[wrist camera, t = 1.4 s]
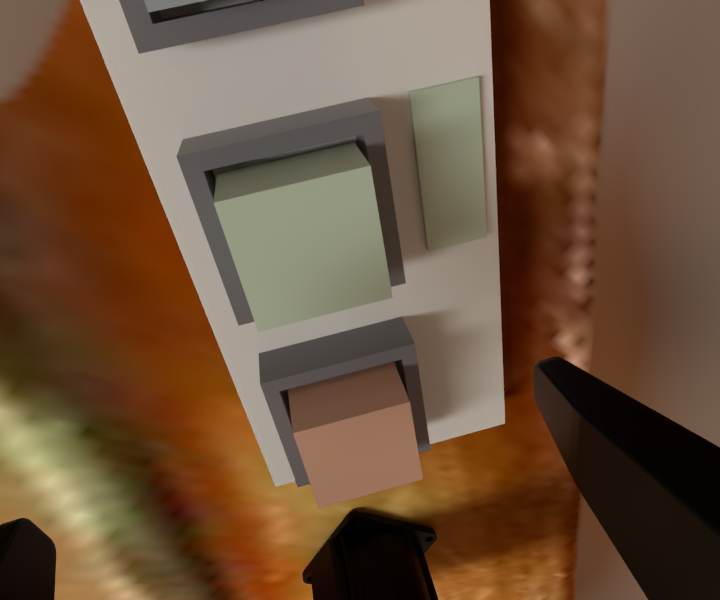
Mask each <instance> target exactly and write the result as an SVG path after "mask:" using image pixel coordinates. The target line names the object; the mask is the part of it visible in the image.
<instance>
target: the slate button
mask: <svg viewBox="0 0 720 600" xmlns="http://www.w3.org/2000/svg"><path fill="white" fill-rule="evenodd" d="M201 1H206V0H144V2H145V5H146V8H147V10H148V13H149V12H153V11H158V10H163V9H168V8H173V7H177V6H182V5H187V4H192V3H196V2H201Z"/></svg>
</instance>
